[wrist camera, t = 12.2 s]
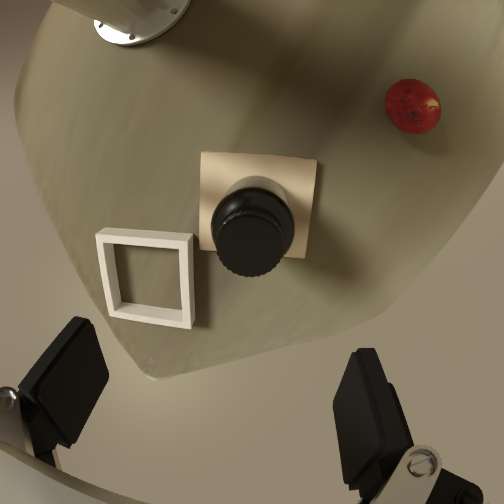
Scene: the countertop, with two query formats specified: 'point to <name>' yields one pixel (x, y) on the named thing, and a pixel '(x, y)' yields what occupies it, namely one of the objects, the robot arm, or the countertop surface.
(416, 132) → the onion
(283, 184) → the board
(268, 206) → the supplement bottle
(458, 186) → the countertop surface
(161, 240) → the white square frame
